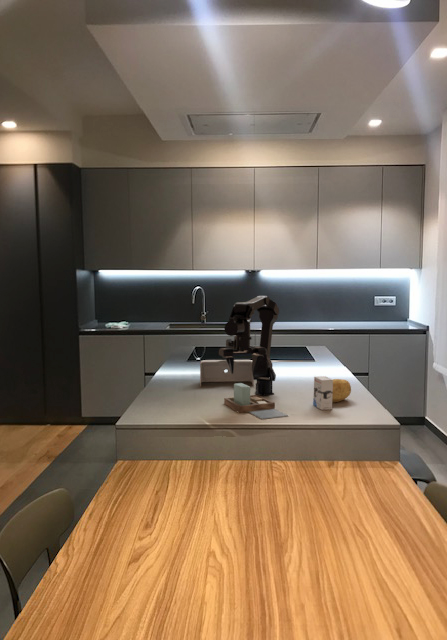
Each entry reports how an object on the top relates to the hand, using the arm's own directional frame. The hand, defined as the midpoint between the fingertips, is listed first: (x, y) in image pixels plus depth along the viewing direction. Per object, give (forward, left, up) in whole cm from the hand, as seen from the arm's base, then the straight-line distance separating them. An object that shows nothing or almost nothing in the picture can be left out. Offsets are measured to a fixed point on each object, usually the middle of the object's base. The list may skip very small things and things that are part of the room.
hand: (242, 373), depth 203 cm
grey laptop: (-10, -39, -14) cm, 43 cm away
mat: (-4, +15, -14) cm, 20 cm away
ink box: (-28, +15, -14) cm, 34 cm away
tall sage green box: (+1, +1, -14) cm, 14 cm away
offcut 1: (-6, -1, -12) cm, 14 cm away
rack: (-2, +1, -14) cm, 14 cm away
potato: (-38, +9, -14) cm, 41 cm away
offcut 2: (-6, +5, -14) cm, 16 cm away
